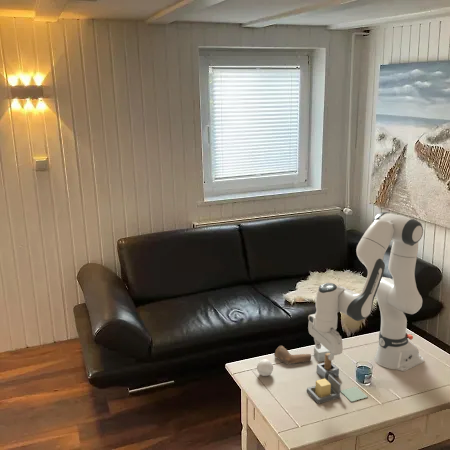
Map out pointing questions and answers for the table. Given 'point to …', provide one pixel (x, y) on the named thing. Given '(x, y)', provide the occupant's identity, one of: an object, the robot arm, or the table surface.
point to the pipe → (291, 356)
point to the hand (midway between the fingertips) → (324, 353)
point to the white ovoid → (264, 367)
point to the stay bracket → (327, 371)
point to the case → (335, 394)
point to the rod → (327, 362)
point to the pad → (353, 394)
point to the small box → (320, 353)
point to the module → (322, 388)
